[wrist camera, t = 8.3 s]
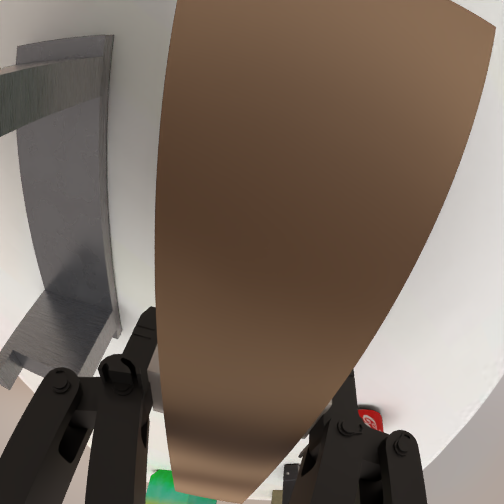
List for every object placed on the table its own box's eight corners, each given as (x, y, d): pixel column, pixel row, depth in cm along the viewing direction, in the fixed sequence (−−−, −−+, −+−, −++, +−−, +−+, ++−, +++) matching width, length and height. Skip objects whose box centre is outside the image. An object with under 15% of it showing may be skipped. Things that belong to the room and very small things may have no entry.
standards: (27, 45, 14) (-103, 78, 5) (114, 34, 14) (-34, 48, 5) (58, 310, 27) (7, 393, 19) (121, 331, 27) (77, 427, 19)
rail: (244, 1, 7) (191, -61, 2) (392, 37, 7) (496, 27, 2) (191, 424, 19) (175, 491, 15) (250, 436, 19) (241, 503, 15)
